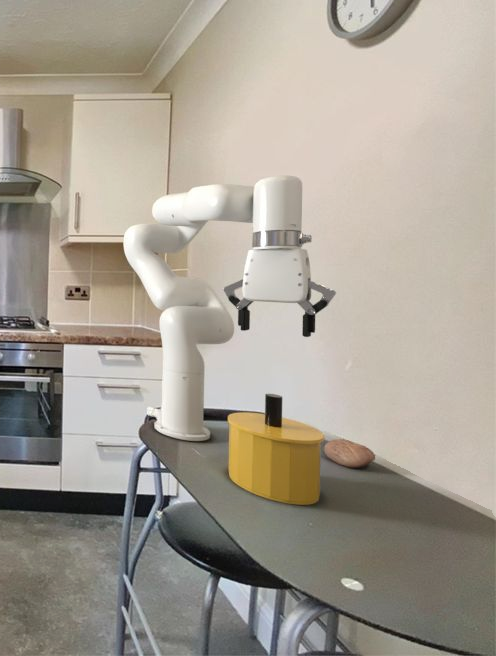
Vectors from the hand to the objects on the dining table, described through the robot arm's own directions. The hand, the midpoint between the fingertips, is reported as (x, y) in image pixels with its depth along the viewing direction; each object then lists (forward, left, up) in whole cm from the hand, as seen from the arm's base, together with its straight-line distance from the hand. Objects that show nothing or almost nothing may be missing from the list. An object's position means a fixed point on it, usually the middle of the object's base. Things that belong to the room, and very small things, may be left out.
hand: (274, 333), depth 75 cm
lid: (0, 0, -18) cm, 18 cm away
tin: (0, 0, -28) cm, 28 cm away
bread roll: (+8, +26, -28) cm, 39 cm away
